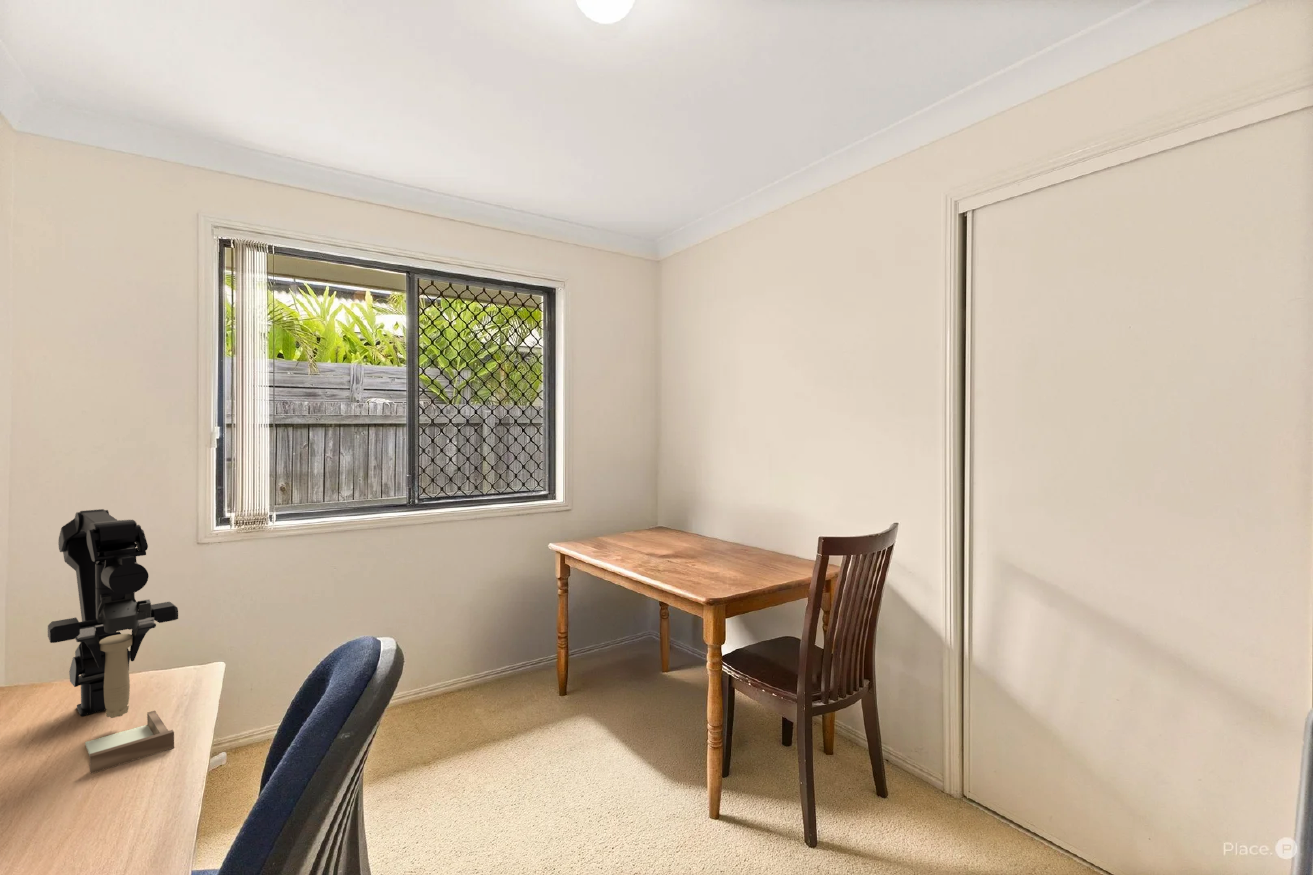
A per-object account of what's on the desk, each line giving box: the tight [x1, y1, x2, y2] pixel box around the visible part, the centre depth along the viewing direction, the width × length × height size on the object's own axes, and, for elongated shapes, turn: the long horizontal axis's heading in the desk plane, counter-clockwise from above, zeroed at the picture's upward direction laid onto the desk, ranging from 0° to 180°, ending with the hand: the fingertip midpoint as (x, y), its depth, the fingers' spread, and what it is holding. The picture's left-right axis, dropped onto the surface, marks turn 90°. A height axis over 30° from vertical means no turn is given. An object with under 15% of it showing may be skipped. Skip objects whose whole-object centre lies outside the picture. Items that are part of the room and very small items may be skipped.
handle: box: [99, 633, 133, 719], centre depth 120 cm, size 5×6×15 cm
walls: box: [89, 710, 175, 775], centre depth 114 cm, size 13×11×3 cm
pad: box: [84, 724, 153, 757], centre depth 114 cm, size 12×9×1 cm
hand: (116, 664), depth 120 cm, fingers closed on handle, 4 cm apart
